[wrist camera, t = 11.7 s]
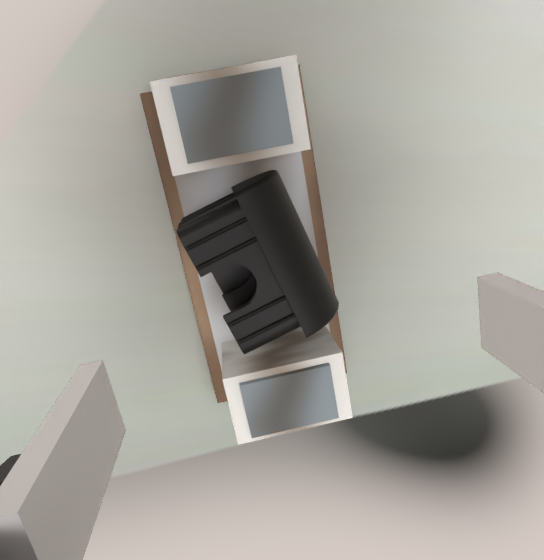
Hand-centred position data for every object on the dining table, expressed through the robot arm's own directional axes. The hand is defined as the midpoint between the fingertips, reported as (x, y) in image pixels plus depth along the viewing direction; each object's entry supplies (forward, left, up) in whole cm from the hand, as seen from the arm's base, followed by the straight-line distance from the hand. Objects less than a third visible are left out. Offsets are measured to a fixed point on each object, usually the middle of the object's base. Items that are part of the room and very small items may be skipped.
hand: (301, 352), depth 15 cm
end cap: (0, 0, -19) cm, 19 cm away
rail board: (0, 0, -21) cm, 21 cm away
